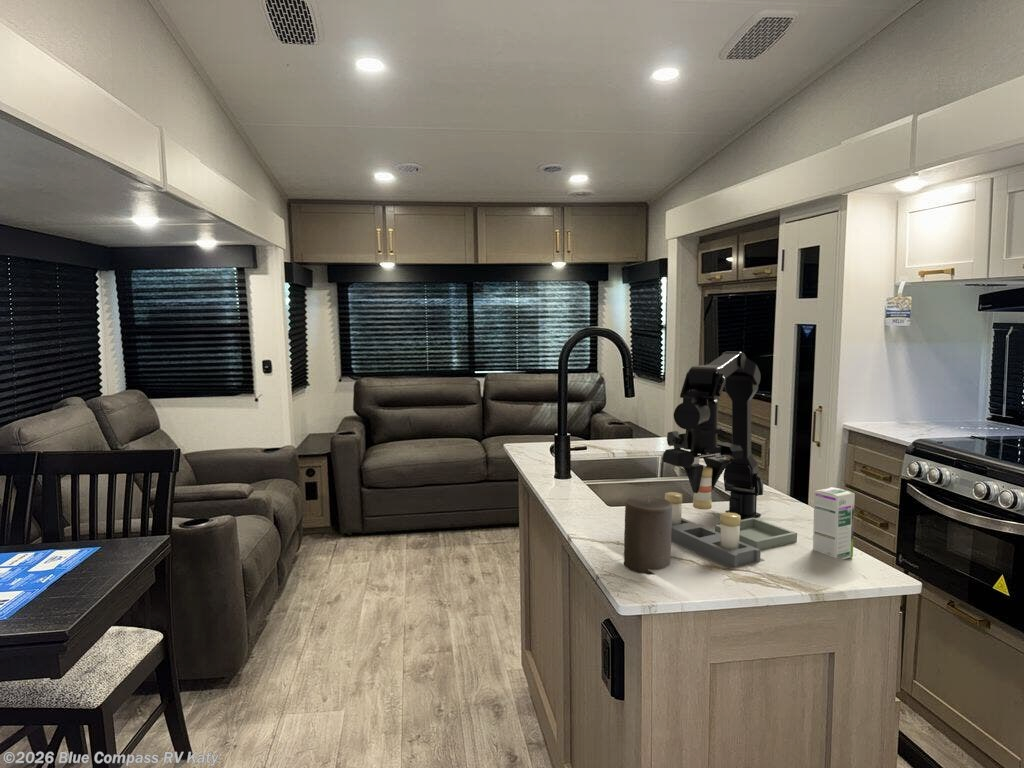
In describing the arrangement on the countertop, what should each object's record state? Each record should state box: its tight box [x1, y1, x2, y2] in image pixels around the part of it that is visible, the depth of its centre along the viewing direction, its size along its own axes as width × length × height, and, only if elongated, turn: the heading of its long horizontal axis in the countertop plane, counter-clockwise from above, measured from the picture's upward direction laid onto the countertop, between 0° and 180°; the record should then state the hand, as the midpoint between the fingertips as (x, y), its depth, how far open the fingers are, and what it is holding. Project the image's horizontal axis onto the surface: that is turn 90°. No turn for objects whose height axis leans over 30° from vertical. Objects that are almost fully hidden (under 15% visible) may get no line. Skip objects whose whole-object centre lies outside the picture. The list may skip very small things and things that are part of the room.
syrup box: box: [812, 486, 856, 560], centre depth 135 cm, size 6×6×14 cm
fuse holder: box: [671, 517, 765, 570], centre depth 142 cm, size 28×10×4 cm, turn 26°
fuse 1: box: [664, 491, 683, 526], centre depth 149 cm, size 4×4×9 cm
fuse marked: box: [692, 465, 713, 511], centre depth 140 cm, size 4×4×9 cm
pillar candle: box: [623, 495, 673, 575], centre depth 131 cm, size 10×10×15 cm
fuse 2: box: [719, 512, 741, 551], centre depth 133 cm, size 4×4×9 cm
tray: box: [714, 517, 798, 551], centre depth 145 cm, size 13×13×3 cm
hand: (702, 491), depth 141 cm, fingers closed on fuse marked, 4 cm apart
